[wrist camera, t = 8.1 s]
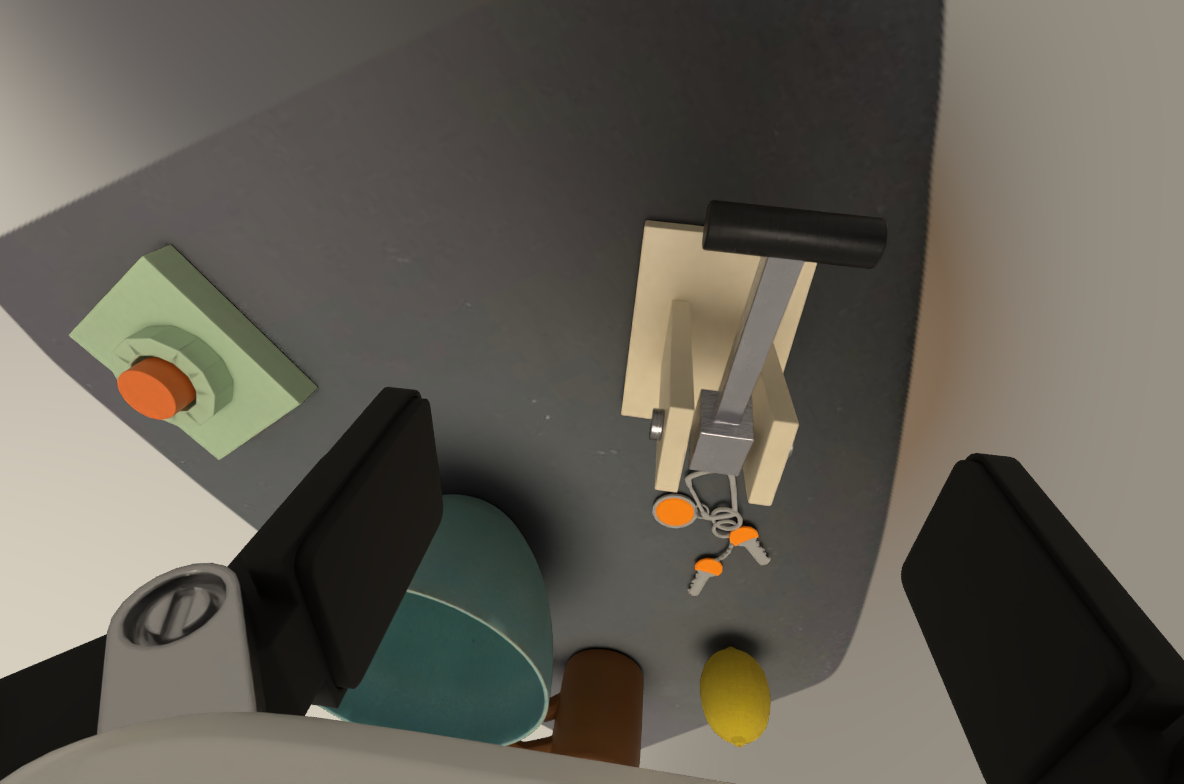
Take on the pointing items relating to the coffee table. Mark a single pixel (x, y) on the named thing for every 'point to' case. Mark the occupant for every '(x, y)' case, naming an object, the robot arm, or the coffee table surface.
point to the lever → (767, 307)
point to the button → (156, 388)
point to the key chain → (684, 512)
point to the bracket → (704, 352)
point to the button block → (195, 350)
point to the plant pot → (464, 637)
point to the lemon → (735, 696)
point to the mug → (596, 710)
